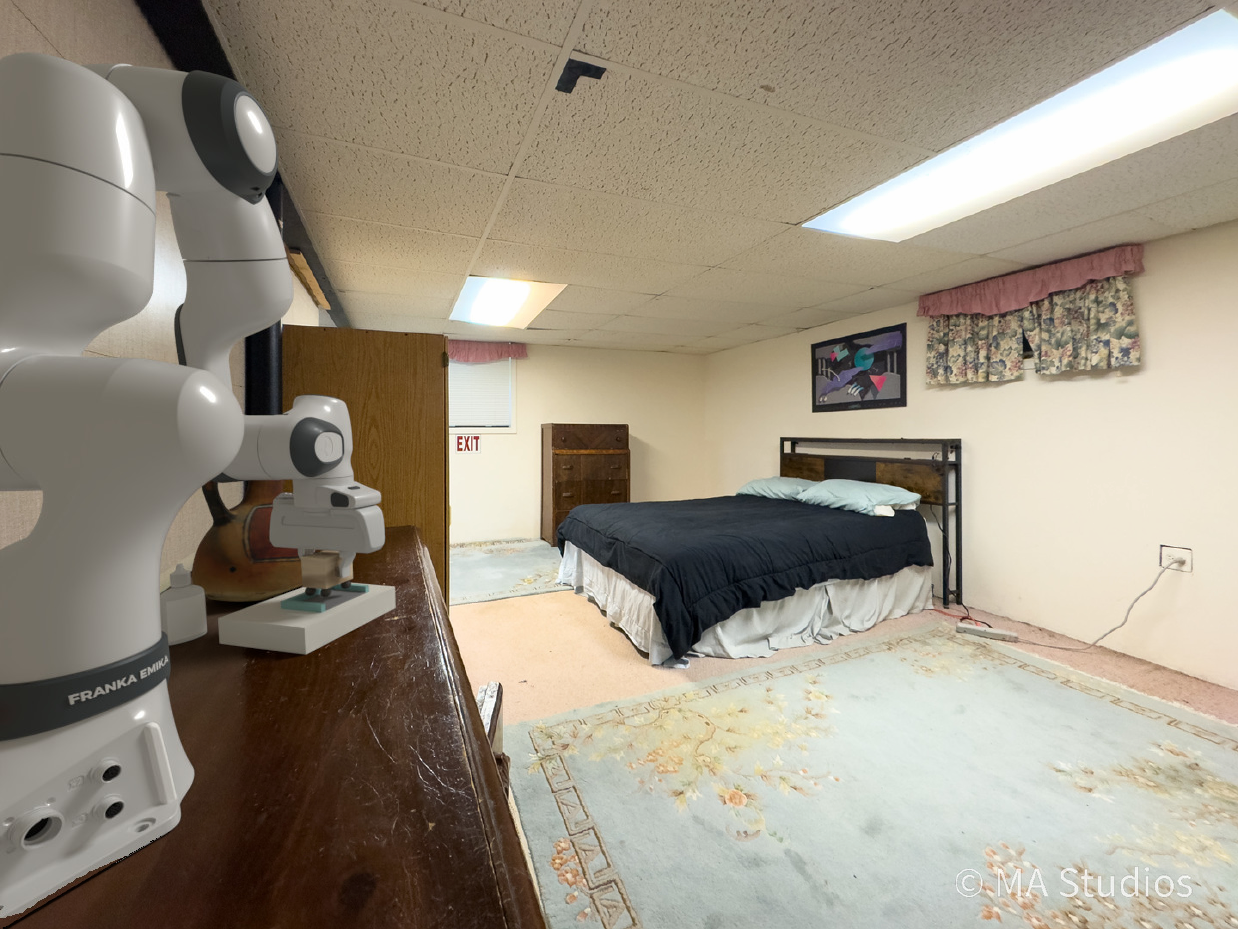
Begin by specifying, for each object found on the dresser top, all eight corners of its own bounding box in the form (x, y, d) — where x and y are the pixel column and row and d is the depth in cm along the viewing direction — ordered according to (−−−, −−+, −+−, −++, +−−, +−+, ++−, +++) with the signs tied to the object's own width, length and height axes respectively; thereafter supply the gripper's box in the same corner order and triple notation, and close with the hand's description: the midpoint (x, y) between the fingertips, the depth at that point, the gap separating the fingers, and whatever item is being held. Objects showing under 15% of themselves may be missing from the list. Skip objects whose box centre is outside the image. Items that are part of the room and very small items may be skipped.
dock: (305, 654, 75) (304, 619, 75) (219, 643, 79) (217, 610, 79) (395, 607, 95) (394, 580, 94) (322, 600, 98) (321, 574, 98)
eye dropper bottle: (206, 639, 81) (201, 564, 80) (158, 648, 77) (153, 570, 76) (207, 630, 84) (203, 558, 83) (162, 638, 81) (157, 563, 80)
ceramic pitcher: (339, 587, 107) (333, 442, 105) (232, 620, 89) (223, 446, 86) (279, 575, 115) (273, 441, 113) (171, 603, 97) (160, 444, 95)
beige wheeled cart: (326, 598, 84) (324, 558, 83) (302, 596, 85) (301, 557, 84) (353, 587, 89) (352, 550, 89) (331, 585, 90) (329, 548, 90)
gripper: (256, 494, 85) (260, 576, 86) (362, 498, 80) (365, 585, 81) (289, 489, 91) (292, 566, 92) (389, 493, 86) (392, 574, 87)
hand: (327, 575), depth 87 cm, fingers closed on beige wheeled cart, 5 cm apart
